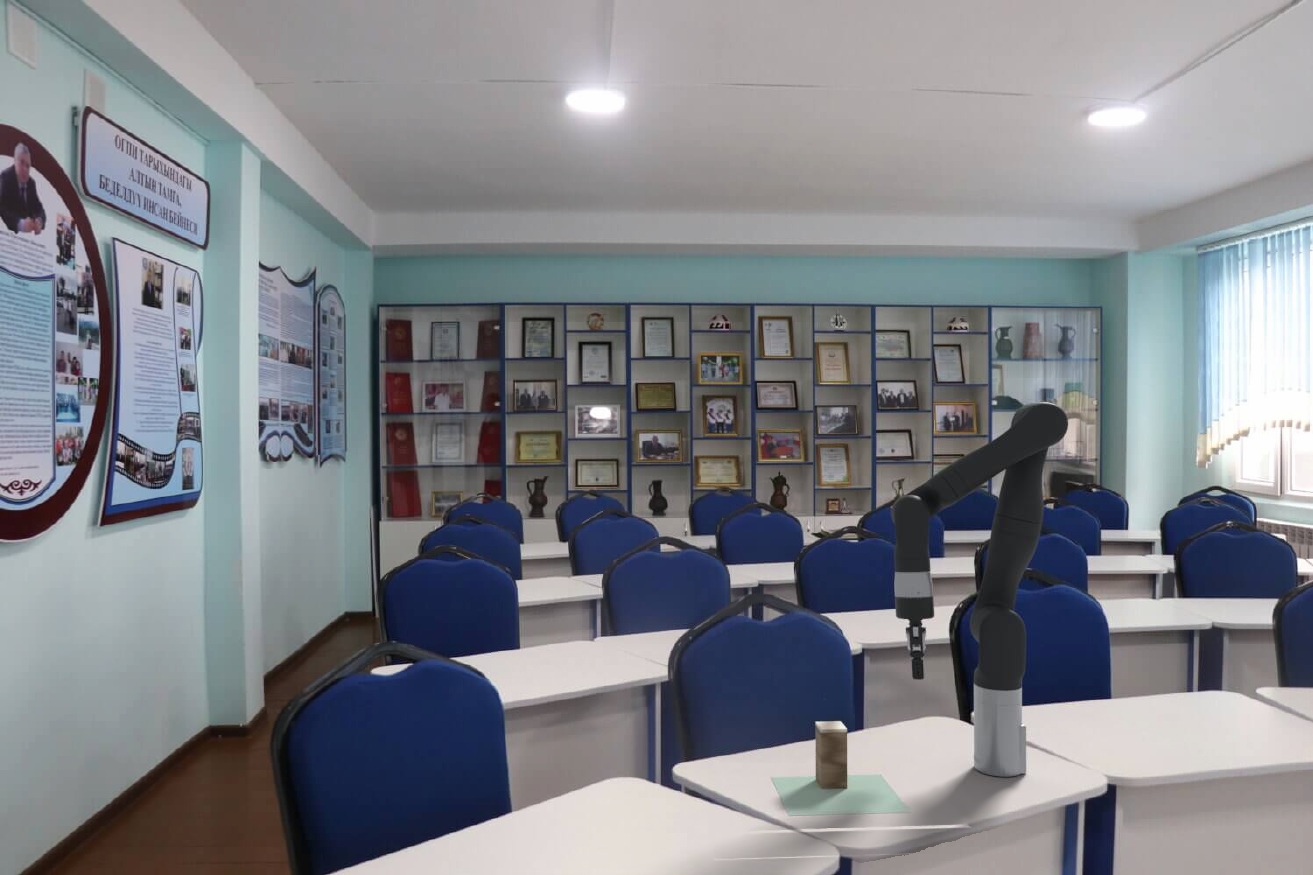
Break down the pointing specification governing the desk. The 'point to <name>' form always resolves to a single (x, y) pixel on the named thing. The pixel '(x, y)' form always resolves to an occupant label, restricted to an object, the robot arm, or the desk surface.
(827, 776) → the walnut block
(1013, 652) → the robot arm
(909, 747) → the desk surface
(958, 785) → the desk surface
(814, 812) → the sage mat
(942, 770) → the desk surface
